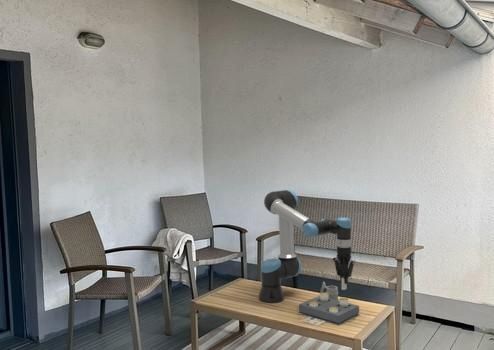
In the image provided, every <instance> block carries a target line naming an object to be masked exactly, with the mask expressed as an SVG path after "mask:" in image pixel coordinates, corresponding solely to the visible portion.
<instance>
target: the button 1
mask: <svg viewBox="0 0 494 350" xmlns="http://www.w3.org/2000/svg"><path fill="white" fill-rule="evenodd" d="M309 306H312V307H317V306H318V303H317V302H310V303H309Z"/></svg>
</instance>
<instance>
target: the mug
mask: <svg viewBox="0 0 494 350" xmlns="http://www.w3.org/2000/svg"><path fill="white" fill-rule="evenodd" d="M325 289H326V291H325V292H324V290H325ZM319 291H320V293H328V298H331V299H335V300H339V289H338V286H336V285H328V286H327V285H326V282H325V281H322V285H321V287H320V290H319ZM320 293H319V294H320Z"/></svg>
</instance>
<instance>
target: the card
mask: <svg viewBox="0 0 494 350" xmlns="http://www.w3.org/2000/svg"><path fill="white" fill-rule="evenodd" d="M301 321H302V323H306V324H309V325H312V326H316V327H320V326H322V325H324V324H326V323H327V322H326V321H323V320H320V319H316V318H313V317H310V316H308V317H307V318H305V319H302V320H301Z"/></svg>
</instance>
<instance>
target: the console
mask: <svg viewBox="0 0 494 350" xmlns="http://www.w3.org/2000/svg"><path fill="white" fill-rule="evenodd" d="M310 302H317V303H318V306H317V307H312V306H309V303H310ZM330 307H336V308H338V312H336V313H333V312H329V308H330ZM298 314H301V315H304V316H307V317H312V318H316V319H319V320H322V321H326V323H330V324H332V325H337V326H340V325H341V324H342V325H343V324H344V323H346V322H348V321H350V320H353V318H355V317H357V316H358V317H359V316H360V305H357V304H353V303H350V302H348V307H347V308H343V307H339V299H338V300H335V299H331V298H328V302H326V303H325V302H321V301H320V295H318V296H316V297H313V298H311V299H308V300H306V301H304V302H301V303H299V304H298Z"/></svg>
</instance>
